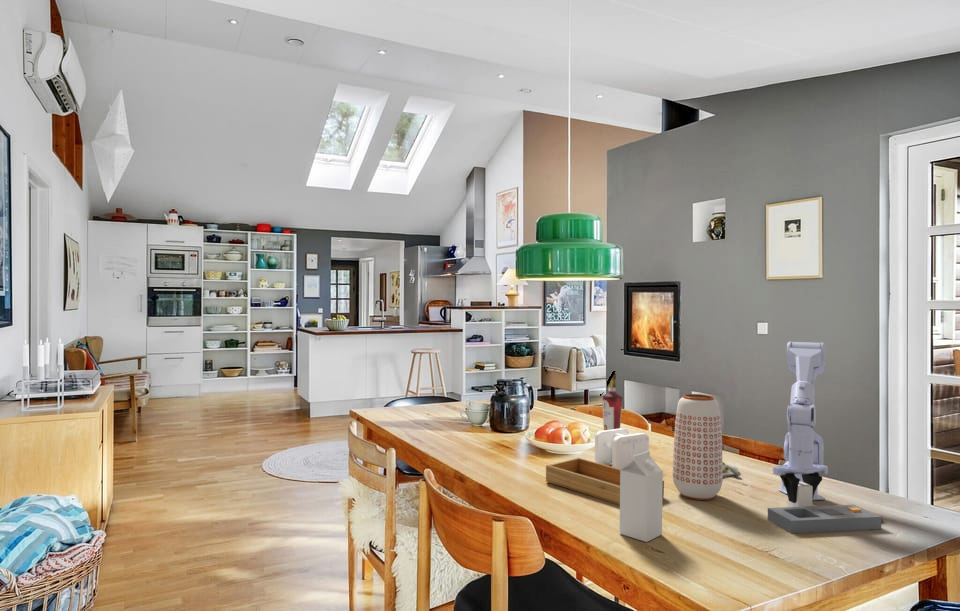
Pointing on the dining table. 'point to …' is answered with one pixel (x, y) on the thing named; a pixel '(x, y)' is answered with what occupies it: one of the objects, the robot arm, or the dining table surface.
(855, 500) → the dining table surface
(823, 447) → the robot arm
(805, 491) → the block
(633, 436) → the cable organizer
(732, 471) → the salad plate
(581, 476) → the tray
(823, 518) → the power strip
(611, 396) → the liquor
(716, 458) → the patterned ceramic vase
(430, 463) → the dining table surface
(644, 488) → the milk carton
